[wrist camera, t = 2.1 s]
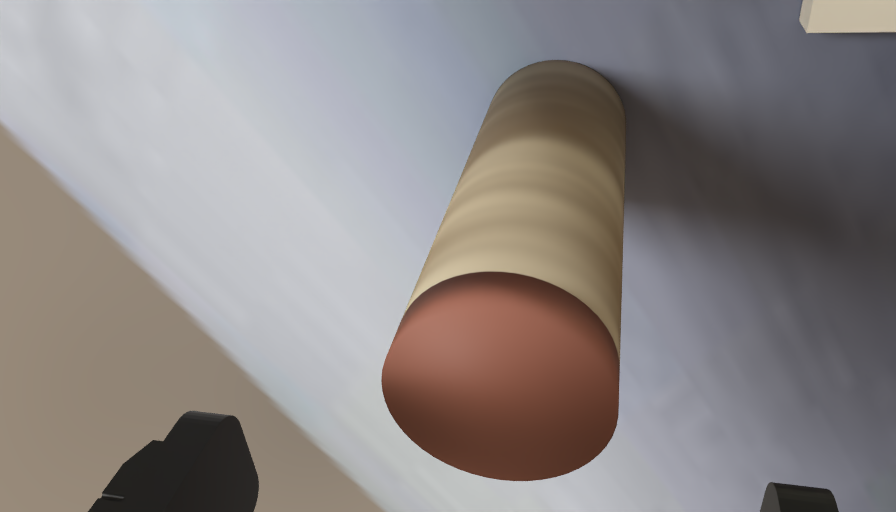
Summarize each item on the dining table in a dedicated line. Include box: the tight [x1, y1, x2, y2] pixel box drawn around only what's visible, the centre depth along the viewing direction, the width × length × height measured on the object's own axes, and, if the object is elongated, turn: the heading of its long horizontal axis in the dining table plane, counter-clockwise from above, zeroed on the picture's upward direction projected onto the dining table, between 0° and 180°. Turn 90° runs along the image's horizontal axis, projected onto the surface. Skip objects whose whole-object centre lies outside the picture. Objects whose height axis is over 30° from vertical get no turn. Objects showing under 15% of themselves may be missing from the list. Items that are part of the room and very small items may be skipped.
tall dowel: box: [382, 60, 626, 481], centre depth 16 cm, size 4×4×11 cm
